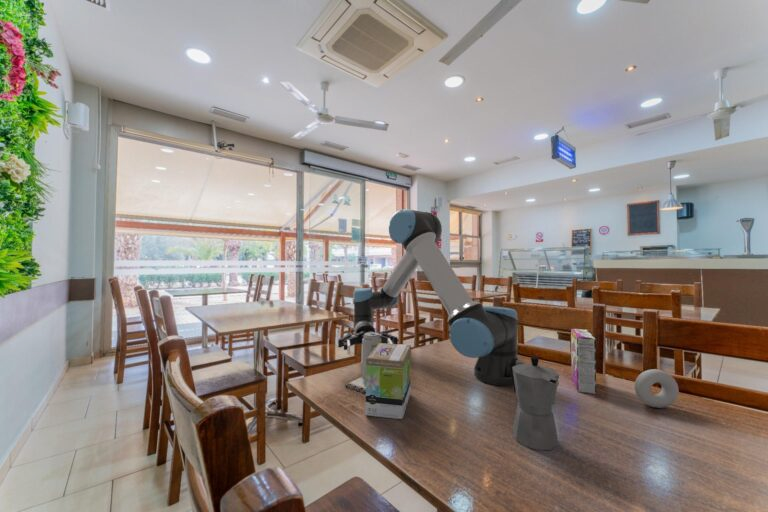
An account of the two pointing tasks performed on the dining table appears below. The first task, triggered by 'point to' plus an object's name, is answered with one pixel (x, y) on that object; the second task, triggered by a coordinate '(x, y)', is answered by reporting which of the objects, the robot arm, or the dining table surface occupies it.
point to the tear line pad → (358, 384)
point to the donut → (666, 393)
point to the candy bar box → (583, 360)
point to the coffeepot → (534, 404)
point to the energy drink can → (368, 348)
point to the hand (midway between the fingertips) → (370, 349)
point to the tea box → (388, 380)
